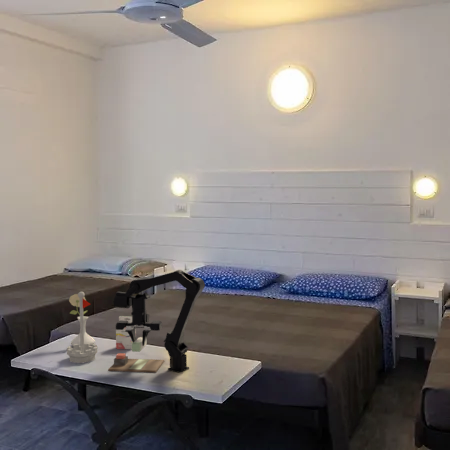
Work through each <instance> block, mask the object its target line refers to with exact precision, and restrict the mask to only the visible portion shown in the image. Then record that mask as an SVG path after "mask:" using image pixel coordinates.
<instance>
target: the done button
mask: <svg viewBox="0 0 450 450" xmlns="http://www.w3.org/2000/svg"><path fill="white" fill-rule="evenodd" d="M126 354H127V353H121V352H117V354H116V355H115V358H116V359H125V358H126V356H127V355H126Z"/></svg>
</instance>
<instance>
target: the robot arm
mask: <svg viewBox="0 0 450 450" xmlns="http://www.w3.org/2000/svg"><path fill="white" fill-rule="evenodd" d="M175 281H176V282H178V283H179V284H180V285H181V286H182V287H183V288H185V297H184V298H185V299H184V301H183V304H182V306H181V309H180V311H179V314H178V317H177V320H176V321H175V325H174V328H173V329H171V330H169V331H168V332H166V335H165V339H164V340H163V342H164V344H163V345H164V348H165V350H166V351H167V353H168V356H169V367H167V370H168V371H173V372H176V373H180V372H183V371H186V370H188V369H190V367H189V366H187V354H186V353H187V352H188V349H189V347H188V346H187V344H186V343H185V342H184V339H185V330H186V326H187V324H188V321H189V319H190V317H191V314H192V311H193V309H194V306H195V302H196V301H197V299H198V298H199V297H200V295H201V294H202V293H203V290H204V289H205V286H206V284H205V281H204V279H202V278H201V277H196V276H194V275H192V274H189V273H188V272H186V271H184V270H182V269H177V270H175V271H172V272H169V273H165V274H161V275H157V276H153V277H140V278H139V277H138V278H137V279H134V280H131V282H130V284H129V287H128V288H127V290H126V291H125V292H124V291H123V292H122V291H117V292H115V296H114V299H113V306H114V308H115V309H129V308H131V316H132V322H131V323H129V322H128V321H123V320H120V321H119V320H118V321H117V322H116V323H115V331H116V330H123V329H124V328H125V327H126V330H125V332H128V334H129V335H130V337H131V339H132V341H133V342H135V341H136V340H137V333H136V334H135V330H136V331H137V329H138V328H139V329H140V328H142V329H143V330H142V336H141V337H142V344H143V346H144V345H145V341H146V339H147V338H148V336H149V333H151V331H157V332H159V331H160V330H162V328H163V322H162V321H160V320H153V321H151V322H150V314H148V313H147V310H146V309H147V307H146V304H147V303H146V300H147V299H150V298H151V295H149V294H148V293H147V292H145V291H147V290H149V289H151V288H153V287H157V286H160V285H164V284H168V283H171V282H175ZM143 292H144V293H143ZM141 293H142V294H141ZM136 328H137V329H136Z"/></svg>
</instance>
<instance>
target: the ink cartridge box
mask: <svg viewBox="0 0 450 450" xmlns="http://www.w3.org/2000/svg"><path fill="white" fill-rule="evenodd" d="M120 320H123V321H128V322H129V323H131V322H132V315H131V316H130V315H129V316H128V315H127V316H126V315H119V316H118V322H119V321H120ZM125 330H126V327H125V328H124V329H123V330H116V329H115V349H117V350H132V343H133V341H132V339H131V337H130V335H129V334H128V332H125ZM135 334H136V335H137V329H136V330H135Z"/></svg>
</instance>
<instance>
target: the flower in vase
mask: <svg viewBox="0 0 450 450" xmlns="http://www.w3.org/2000/svg"><path fill="white" fill-rule="evenodd" d="M83 299H84V300H86V301H87V299H86V297H85V296H84V297H83ZM68 301H69V303H70V305H71V306H73V307H76V308H80V298H79V297H78V293H75V294H73V295H70V297H69V299H68ZM88 310H89V309H88ZM88 310H85V311H84V310H83V318H84V343H90V346H92V345H93V344H95V343H96V340H95V339H94V338H93V337H92V336H91V335H89V333H87V332H86V331H87V330H86V323H87V320H88V319H89V316H84V315H85V314H86V313H88ZM69 314H71V315H77V314H78V315H79V316H77V320H78V321H79V323H80V311H79V310H78V309H76V310H75V309H73V310H71V311H70V312H69ZM75 344H79V346H80V332H79V333H78V335H76V336H75V337H74V338H72V341H70V345H71V347H73V345H75Z"/></svg>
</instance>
